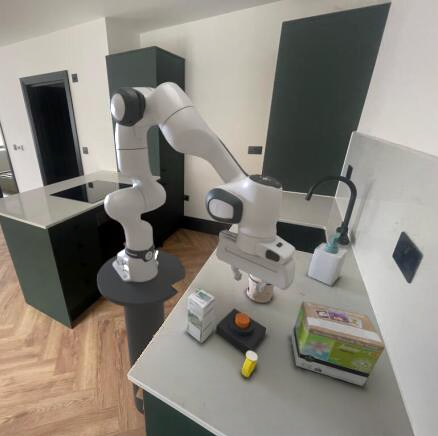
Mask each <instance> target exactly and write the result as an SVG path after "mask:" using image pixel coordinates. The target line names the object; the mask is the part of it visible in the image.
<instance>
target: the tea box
mask: <svg viewBox="0 0 438 436" xmlns="http://www.w3.org/2000/svg"><path fill="white" fill-rule="evenodd" d="M291 332H292V333H291V335H290V338H291V343H292V350H293V356H294V362H295V366H296V367H299V368H303V369H306V370H309V371H312V372H316V373H319V374H321V375H322V374H323V375H325V376H329V377H331V378H334V379H338V380H342V381H344V382H348V383H351V384H354V385H357V386H360V387H363V386H364V385H365V383H366V381H367V380H368V379H369V377H370V375H371V373H372V371H373V369H374V368H375V366H376V364H377V363H378V360H379V359H380V357H381V355H382V354H383V352H384V350H385V348H386V347H385V344H384V343H383V341H382V339H381V337H380V335H379V334H378V332H377V330H376V328H375V327H374V325H373V323H372V321H371V319H370V316H369V315H368V314H364V313H358V312H354V311H351V310H345V309H340V308H336V307H333V306H332V307H331V306H327V305H323V304H318V303H313V302H309V301H304V300H303V301H302V302H301V305H300V308H299V311H298V314H297V317H296V319H295V323H294V327H293V329H292V331H291Z"/></svg>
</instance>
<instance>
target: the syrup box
mask: <svg viewBox="0 0 438 436" xmlns="http://www.w3.org/2000/svg"><path fill="white" fill-rule="evenodd" d="M215 298H216V297H215V296H214V295H211V294H210V293H208V292H207V291H205V290H203V289H202V288H201V287H199V288H197V289H196V290H194V291H193V292H192V293H191V294H190V295H189V296H188V297H187V327H186V328H187V329H186V330H187V334H189V335H190V336H191V337H193V338H194V339H195V340H196V341H197V342H199V343H200V344H203V342H205V340H206V339H207V338H209V336H210V335H211V334H212V333H213V321H214V312H215V311H214V310H215V301H216V299H215Z"/></svg>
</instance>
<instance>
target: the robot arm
mask: <svg viewBox="0 0 438 436" xmlns="http://www.w3.org/2000/svg"><path fill="white" fill-rule="evenodd" d="M109 108H110V109H109V110H110V113H111V116H112V118H113V120H114V122H116V123H115V148H116V158H117V159H116V160H117V165H118V166H117V168H118V170H119V172H120V173H121V174H122V175H123V176H124V177H126V178H127V177H128V178H130V180H131V181H132V186H129V187H124V188H120V189H116V190H115V191H113V192H110V193H107V194H106V197H105V198H104V205H103V206H104V211H105V212H106V214H107V215H108V216H109V218H111V219H112V220H115V221H117V222H118V223H120V225H121V226H122V228H123V230H124V235H125V242H123V246H125V247H124V249H122V250H121V251H119V252H118V253H117V254H116V256H117V260H115V261H114V262H113V267H114V268H115V270H116V271H117V272H118V274H119V275H120V277H121V278H122V279H123V281H124V282H130V281H134V282H145V281H148V280H151V279H153V278H154V277H155V276H156V275H157V273H158V268H157V267H158V261H157V260H156V256H157V252H158V251H157V252H156V253H155V250H156V249H155V248H156V247H155V243H154V238H153V237H154V236H153V233H154V231H153V226H152V225H151V224H150V223H149V222H148V221H146V220H143V219H141V217H142V216H141V215H143V214H145V213H148V212H151V211H154V210H156V209H159V208H160V207H162V206H163V205H164V204H165V203H166V200H167V192H166V190H165V188H164V187H163V185H162V184H160V183H159V182H158V181H157V180H156V179H155V177H154V176H153V173H152V171H151V167H150V160H149V150H148V149H149V148H148V138H147V137H148V135H147V134H148V131H149V129H150V128H152V129H155V130H156V129H158V128H159V129H160V131H161V133H162V135H163V136H164V138H165V140H166V141H167V143H168V144H169V145H170V147H172V149H174V150H175V151H176V152H178V153H181V154H183V155H189V156H194V157H197V158H200V159H203V160H205V161H207V162H208V163H209V164H210V165H211V166H212V168H213V169H214V170H215V172H216V173H217V175H218V176H219V177H220V178H221V180H222V181H223V182H224V183H223V184H220V185H218V186H215V187H213V188H212V189H210V190H209V191H208V192H207V194H206V196H205V203H204V204H205V209H206V212H207V214H208V215H209V216H210V218H211V219H213V220H214V221H216V222H218V223H222V224H230V225H237V232H233V231H230V230H228V229H224V230H220V232H219V234H218V244H217V247H216V253H215V255H216V258H217V260H219V261H221V262H223V263H226V264H228V265H230V268H231V271H232V273H233V279H234V280H235V281H237V282H240V281H241V280H242V278H243V277H242V276H243V273H242V272H244V273H247V274H248V275H249V274H251V275H253V276H255V277H257V278H259V279H261V282H262V283H260V282H259V283H258V284H257V285H256V289H255V290H257V291H259V292H260V293H261V292H262V291H263V289H264V286H265V285H267V284H268V283H270V284H272V285H274V287H276V288H278V289H280V290H282V291H285V290H288V289H289V288H290V287H291V286H292V285H293V283H294V280H295V275H296V261H295V258H293V257H294V255H295V253H296V247H294V245H292V244H291V243H289V242H287V241H286V240H284V239H283V238H282V237H280V236H279V235H277V232H278V231H277V223H278V221H279V219H280V217H281V212H282V204H283V186H282V183H281V182H280V181H279V180H277V179H276V178H274V177H272V176H270V175H266V174H259V173H255V174H249V173H247V172H246V171H245V170H244V169H243V167H242V166H241V164H239V162H238V161H237V159H236V158H235V156H234V155H233V153H231V151H230V150H229V149H228V147H227V146H226V144H225V143H224V142H223V141H222V140H221V139H220V138H219V137H218V135H217V134H216V133H215V132H214V131H213V130H212V129H211V127H210V126H209V125H208V124H207V123H206V121H205V120H204V118H203V117H202V116H201V114H200V113H199V110H198V109H197V107H196V106H195V104H194V103H193V101H192V100H191V99H190V98H189V96H188V95H187V94H186V93H185V91H184V90H183V89H182V88H181V87H180V86H179V85H178V84H177V83H176V82H172V81H166V82H163V83H161V84H159V85H157V87H155V88H154V87H151V86H150V87H149V86H142V87H141V86H136V87H133V86H122V87H119V88H116V89H115V90H114V91H113V93H112V95H111V97H110V101H109ZM240 270H241V271H242V272H240Z"/></svg>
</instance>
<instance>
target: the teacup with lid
mask: <svg viewBox="0 0 438 436" xmlns="http://www.w3.org/2000/svg"><path fill="white" fill-rule="evenodd" d="M259 282H260V283H262V282H261V279H259V278H257V277H255V276H253V275H251V274H249V273H248V281H247V287H246V294H247V296H248V298H250V299H251V300H253V302H256V303H261V304H264V303H265V304H266V303H268V302H270V301H271V299H272V297H273V292H274V288H275V286H274V285H272V284H270V283H268V284H267V285H265V286H264V289H263V291H262V292H261V293H260V292H259V291H257V290H255V289H256V285H257V284H258V283H259Z"/></svg>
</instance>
